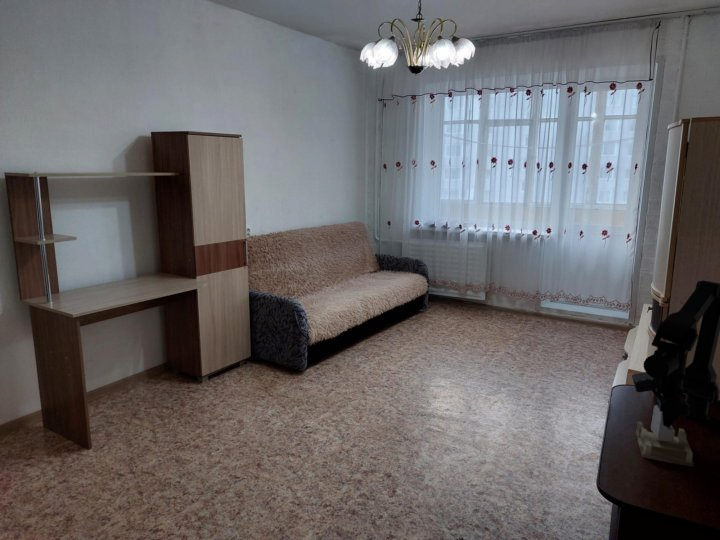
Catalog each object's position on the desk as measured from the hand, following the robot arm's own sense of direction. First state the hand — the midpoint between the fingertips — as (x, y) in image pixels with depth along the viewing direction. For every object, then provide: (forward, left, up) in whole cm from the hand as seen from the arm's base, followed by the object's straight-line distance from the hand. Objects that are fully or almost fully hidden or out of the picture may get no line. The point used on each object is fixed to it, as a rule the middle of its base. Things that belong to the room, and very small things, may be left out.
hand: (663, 422), depth 133 cm
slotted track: (+4, 0, -6) cm, 7 cm away
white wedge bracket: (0, 0, -4) cm, 4 cm away
